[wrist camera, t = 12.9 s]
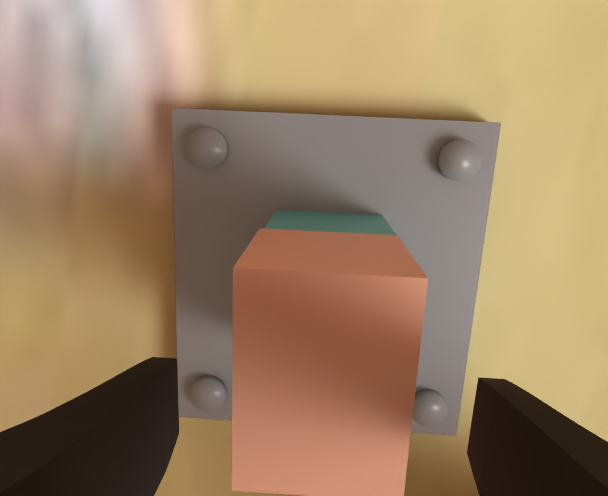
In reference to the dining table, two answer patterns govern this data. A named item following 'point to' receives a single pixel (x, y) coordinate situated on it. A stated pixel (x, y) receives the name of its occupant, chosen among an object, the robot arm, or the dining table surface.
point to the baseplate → (337, 199)
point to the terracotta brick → (324, 363)
